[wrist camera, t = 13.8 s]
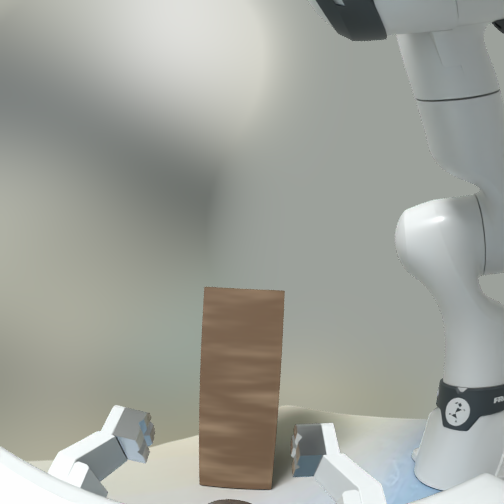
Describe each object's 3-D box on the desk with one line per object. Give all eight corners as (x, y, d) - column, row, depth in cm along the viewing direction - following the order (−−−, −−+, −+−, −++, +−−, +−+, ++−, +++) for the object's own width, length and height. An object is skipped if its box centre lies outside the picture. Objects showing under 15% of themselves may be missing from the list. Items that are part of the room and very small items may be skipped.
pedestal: (212, 443, 41) (218, 294, 47) (266, 446, 41) (275, 297, 46) (199, 484, 28) (204, 286, 33) (270, 489, 27) (284, 290, 33)
